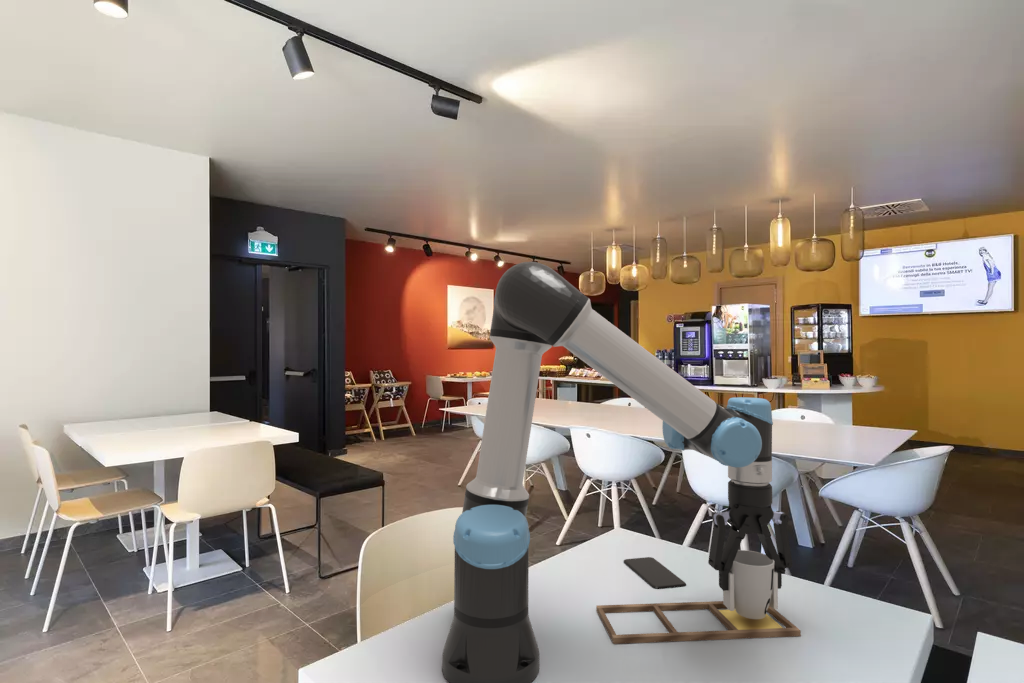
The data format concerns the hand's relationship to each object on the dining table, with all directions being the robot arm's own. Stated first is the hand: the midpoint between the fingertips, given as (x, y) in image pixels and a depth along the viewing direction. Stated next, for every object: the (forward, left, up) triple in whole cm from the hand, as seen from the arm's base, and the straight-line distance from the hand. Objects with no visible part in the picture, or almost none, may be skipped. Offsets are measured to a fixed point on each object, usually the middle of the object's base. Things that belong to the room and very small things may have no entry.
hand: (750, 606), depth 101 cm
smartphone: (-10, +23, -3) cm, 25 cm away
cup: (0, 0, -1) cm, 1 cm away
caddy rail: (-11, 0, -3) cm, 11 cm away
